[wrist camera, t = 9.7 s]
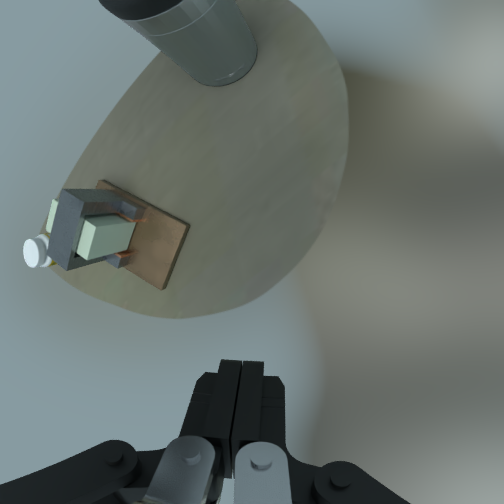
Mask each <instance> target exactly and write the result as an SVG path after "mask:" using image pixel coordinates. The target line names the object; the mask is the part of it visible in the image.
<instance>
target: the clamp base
mask: <svg viewBox="0 0 504 504" xmlns="http://www.w3.org/2000/svg"><path fill="white" fill-rule="evenodd" d="M107 213H117V214H119V215H120V216H122V217H124V218H125V219H127V220H129V221H131V222H136V224H135V227H134V230H133V233H132V236H131V239H130V242H129V245H128V248H127V250H124V251H121V252H117V253H113V254H109V255H105V256H101V257H98V258H94V259H90V260H86V259H84V258H83V257H82V256H80V255H79V254H77V253H76V252H75V251H76V247H77V243H78V239H79V235H80V232H81V228H82V224H83V221H84V217H85V215H94V214H107ZM189 228H190V225H189V224H187V223H185V222H183V221H181V220H179V219H177V218H176V217H174V216H172V215H170V214H168V213H166V212H164V211H162V210H160V209H158V208H156V207H154V206H153V205H151V204H149V203H147V202H145V201H143V200H141V199H139V198H137V197H135V196H133V195H131V194H130V193H128V192H126V191H124V190H122V189H120V188H118V187H116V186H114V185H112V184H111V183H109V182H107V181H105V180H98V183H97V186H96V189H62V191H61V194H60V198H59V201H58V205H57V209H56V213H55V217H54V221H53V225H52V230H51V234H50V239H49V244H48V249H47V254H46V255H47V256H49V257H50V258H51V259H52V260H54V261H55V262H56V263H57V264H58V265H60V266H61V267H62V268H63V269H65V270H66V271H68V270H72V269H75V268H79V267H82V266H86V265H89V264H93V263H96V262H100V261H103V260H106V261H107V262H109V263H110V264H112V265H113V266H115V267H116V268H120V267H124V268H126V269H127V270H129V271H131V272H132V273H134V274H135V275H137V276H139V277H140V278H142V279H143V280H145V281H147V282H148V283H150V284H151V285H153V286H155V287H156V288H158V289H160V290H163V289H165V288H166V286H167V283H168V281H169V278H170V275H171V273H172V270H173V268H174V265H175V262H176V260H177V257H178V255H179V252H180V250H181V247H182V245H183V242H184V240H185V237H186V235H187V232H188V230H189Z"/></svg>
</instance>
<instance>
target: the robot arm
mask: <svg viewBox="0 0 504 504" xmlns="http://www.w3.org/2000/svg"><path fill="white" fill-rule="evenodd" d="M99 2H100V3H101V4H102V5H103V6H104V7H105V8H106V9H107V10H108V11H110V12H111V13H112V14H114V15H115V16H117V17H118V18H120V19H121V20H122V21H124V22H125V23H126V24H128V25H129V26H130V27H132V28H133V29H134V30H136V31H137V32H138V33H140V34H141V35H142V36H143V37H145V38H146V39H147V40H149V41H150V42H151V43H152V44H154V45H155V46H156V47H157V48H158V49H160V50H161V51H162V52H163V53H165V54H166V55H167V56H168V57H169V58H171V59H172V60H173V61H174V62H175V63H176V64H178V65H179V66H180V67H181V68H182V69H183V70H185V71H186V72H187V73H188V74H189V75H190V76H192V77H193V78H194V79H195V80H197V81H198V82H199V83H202V84H204V85H208V86H222V85H227V84H230V83H232V82H235V81H236V80H238V79H240V78H241V77H243V76H244V75H245V74H246V73H247V72H248V71H249V70H250V68H251V67H252V66H253V64H254V62H255V60H256V55H257V46H256V43H255V40H254V38H253V36H252V34H251V32H250V30H249V28H248V26H247V24H246V22H245V20H244V18H243V16H242V14H241V12H240V10H239V8H238V6H237V4H236V2H235V1H234V0H99ZM263 373H264V362H259V361H243V366H242V361H238V360H224V359H222V360H221V362H220V366H219V369H218V373H210V372H205V373H204V374H203V375H202V376H201V377H200V378H199V379H198V380H197V382H196V385H195V388H194V391H193V394H192V397H191V401H190V403H189V407H188V410H187V413H186V416H185V419H184V422H183V425H182V429H181V432H180V435H179V437H178V438H176V439H175V440H173V441H172V442H170V444H169V445H168V446H167V447H166V448H164V449H160V450H153V451H135V449H134V448H133V447H132V446H131V445H130V444H128V443H127V442H124V441H120V440H109V441H106V442H103V443H101V444H99V445H97V446H94V447H92V448H91V449H88V450H86V451H84V452H81V453H79V454H77V455H75V456H73V457H70V458H68V459H66V460H63V461H61V462H59V463H56V464H54V465H52V466H49V467H46V468H44V469H42V470H39V471H36V472H34V473H31V474H29V475H26V476H23V477H21V478H18V479H15V480H13V481H10V482H7V483H4V484H1V485H0V504H219V502H220V499H221V492H222V487H223V480H224V478H232V472H233V475H234V479H235V484H234V504H410V503H409V502H407V501H406V500H404V499H403V498H401V497H399V496H398V495H397V494H395V493H394V492H392V491H391V490H390V489H388V488H387V487H385V486H384V485H382V484H381V483H380V482H378V481H377V480H376V479H374V478H372V477H371V476H370V475H369V474H367V473H366V472H364V471H363V470H362V469H361V468H359V467H358V466H356V465H355V464H352V463H350V462H345V461H335V462H331V463H328V464H326V465H324V466H323V467H317V466H313V465H309V464H305V463H302V462H300V461H298V460H296V459H295V458H294V457H292V456H291V455H290V453H289V452H288V450H287V448H286V443H285V387H284V385H283V383H282V381H281V380H280V378H279V377H278V376H263Z"/></svg>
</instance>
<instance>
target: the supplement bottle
mask: <svg viewBox="0 0 504 504" xmlns="http://www.w3.org/2000/svg"><path fill="white" fill-rule="evenodd" d="M50 234H51V233H46V234H40V235H38V236H37V237H36V238H31V239H28V240H27V241H26V242H25V244H24V248H23V253H24V258H25V261H26V263H27V264H28V266H30V267H32V268H34V267H39V266H41V267H48V266H51V265H55V264H57V263H56V262H55V261H54V260H52V259H51V258H50V257H49V256H47V255H46V254H47V249H48V244H49V239H50Z"/></svg>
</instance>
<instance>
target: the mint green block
mask: <svg viewBox="0 0 504 504" xmlns="http://www.w3.org/2000/svg"><path fill="white" fill-rule="evenodd" d="M58 201H59V199H53V201H52V205H51V209H50V213H49V217H48V221H47V226H46V230H47V231H48V232H49V233H51V230H52V225H53V221H54V217H55V213H56V209H57V205H58ZM135 224H136V222H131V221H129V220H127V219H125V218H124V217H122V216H120V215H119V214H117V213H107V214H94V215H85V217H84V221H83V224H82V228H81V232H80V235H79V239H78V243H77V247H76V251H75V252H76V253H77V254H79V255H80V256H82V257H83V258H84V259H86V260H90V259H94V258H98V257H101V256H105V255H109V254H113V253H117V252H121V251H124V250H127V248H128V245H129V242H130V239H131V236H132V233H133V230H134V227H135Z"/></svg>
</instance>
